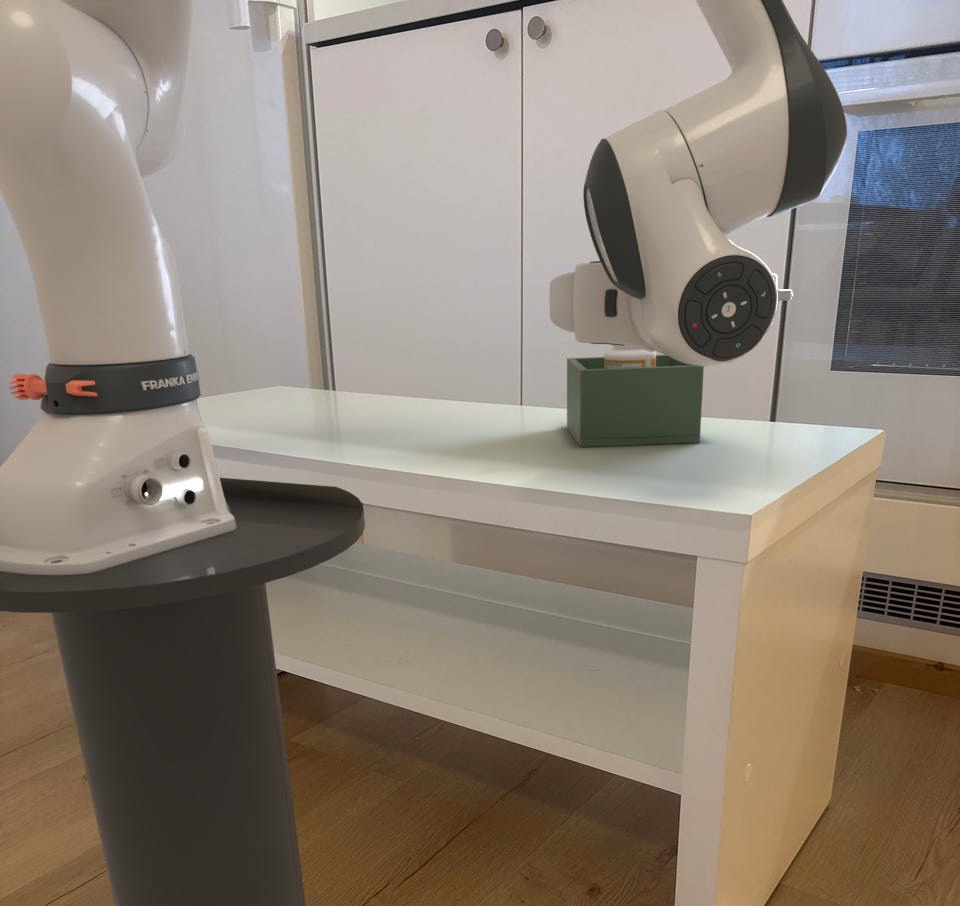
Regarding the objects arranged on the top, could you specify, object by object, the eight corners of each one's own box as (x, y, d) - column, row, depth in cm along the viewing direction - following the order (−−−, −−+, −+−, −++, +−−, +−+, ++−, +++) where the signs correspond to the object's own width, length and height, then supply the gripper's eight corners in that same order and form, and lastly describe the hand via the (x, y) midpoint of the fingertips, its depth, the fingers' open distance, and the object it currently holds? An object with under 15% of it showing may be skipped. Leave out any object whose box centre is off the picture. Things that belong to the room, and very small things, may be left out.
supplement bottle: (632, 421, 108) (635, 327, 104) (664, 427, 104) (668, 329, 100) (592, 426, 106) (594, 330, 102) (623, 433, 101) (626, 333, 97)
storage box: (699, 442, 99) (704, 365, 96) (580, 447, 99) (580, 370, 96) (673, 423, 111) (676, 354, 108) (566, 427, 111) (567, 358, 108)
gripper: (803, 255, 79) (754, 255, 91) (558, 264, 78) (543, 263, 91) (796, 334, 81) (749, 324, 94) (559, 343, 81) (544, 332, 94)
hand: (646, 294), depth 92 cm, fingers open, 8 cm apart
